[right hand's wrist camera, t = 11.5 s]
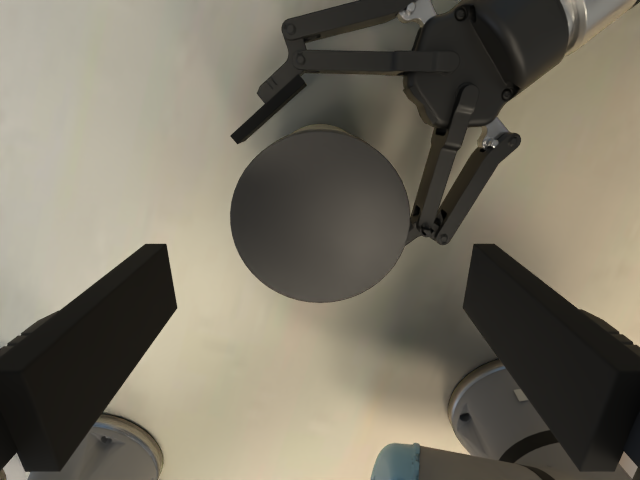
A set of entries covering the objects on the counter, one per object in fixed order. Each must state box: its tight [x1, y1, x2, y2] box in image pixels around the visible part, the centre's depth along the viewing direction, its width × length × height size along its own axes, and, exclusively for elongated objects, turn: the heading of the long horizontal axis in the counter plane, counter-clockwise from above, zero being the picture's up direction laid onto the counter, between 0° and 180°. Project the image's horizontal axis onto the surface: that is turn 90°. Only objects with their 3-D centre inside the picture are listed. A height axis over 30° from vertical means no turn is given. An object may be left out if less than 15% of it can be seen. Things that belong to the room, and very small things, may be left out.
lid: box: [230, 129, 410, 303], centre depth 20 cm, size 10×10×2 cm
